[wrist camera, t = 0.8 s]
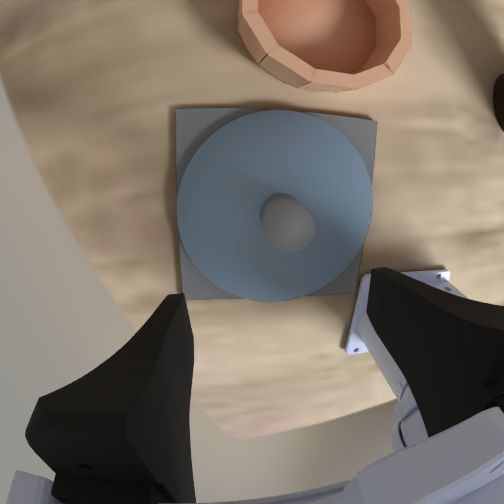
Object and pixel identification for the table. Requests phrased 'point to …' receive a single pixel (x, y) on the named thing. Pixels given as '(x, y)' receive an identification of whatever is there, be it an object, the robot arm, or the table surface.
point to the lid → (274, 205)
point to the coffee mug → (499, 100)
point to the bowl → (326, 40)
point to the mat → (211, 119)
